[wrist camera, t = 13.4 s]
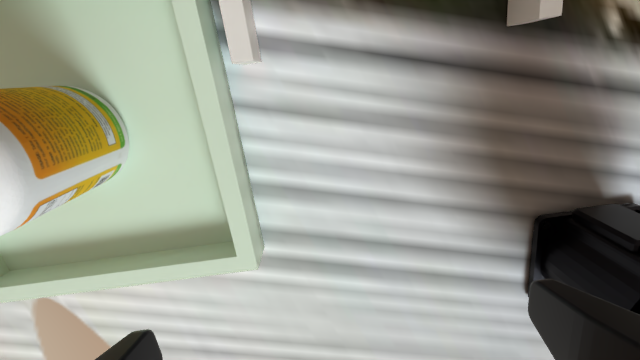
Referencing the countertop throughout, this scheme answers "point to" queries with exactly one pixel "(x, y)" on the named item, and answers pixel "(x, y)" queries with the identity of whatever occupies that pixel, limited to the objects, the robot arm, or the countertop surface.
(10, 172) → the supplement bottle
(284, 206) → the countertop surface
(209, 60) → the tray
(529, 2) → the bay
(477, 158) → the countertop surface
